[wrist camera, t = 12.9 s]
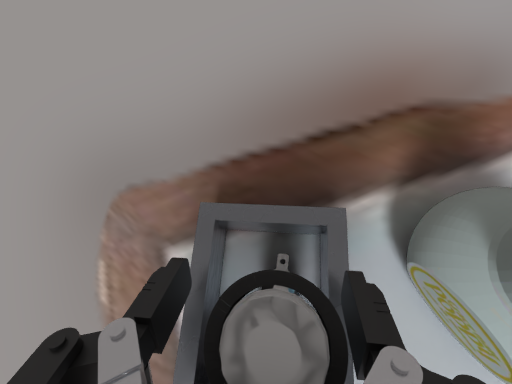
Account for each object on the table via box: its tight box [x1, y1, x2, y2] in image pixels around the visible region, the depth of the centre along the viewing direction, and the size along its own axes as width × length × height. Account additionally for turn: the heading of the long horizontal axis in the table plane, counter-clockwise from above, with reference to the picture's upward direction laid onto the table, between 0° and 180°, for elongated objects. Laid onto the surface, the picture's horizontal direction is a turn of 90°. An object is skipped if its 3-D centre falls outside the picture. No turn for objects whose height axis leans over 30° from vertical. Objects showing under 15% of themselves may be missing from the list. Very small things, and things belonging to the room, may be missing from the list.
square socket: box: [173, 202, 354, 384], centre depth 16 cm, size 10×12×4 cm
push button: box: [204, 253, 348, 384], centre depth 13 cm, size 7×5×10 cm
